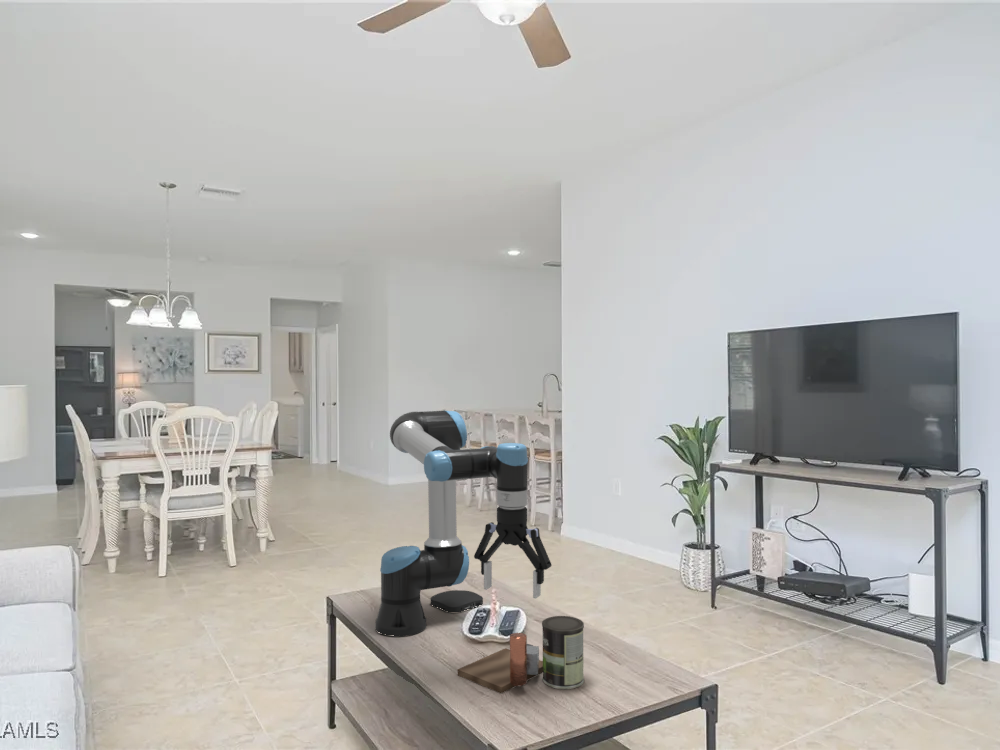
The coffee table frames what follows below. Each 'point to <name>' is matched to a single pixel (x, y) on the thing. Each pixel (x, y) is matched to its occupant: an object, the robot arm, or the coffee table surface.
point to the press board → (493, 671)
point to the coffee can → (563, 652)
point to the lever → (522, 659)
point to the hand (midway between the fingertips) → (511, 592)
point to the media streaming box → (456, 600)
